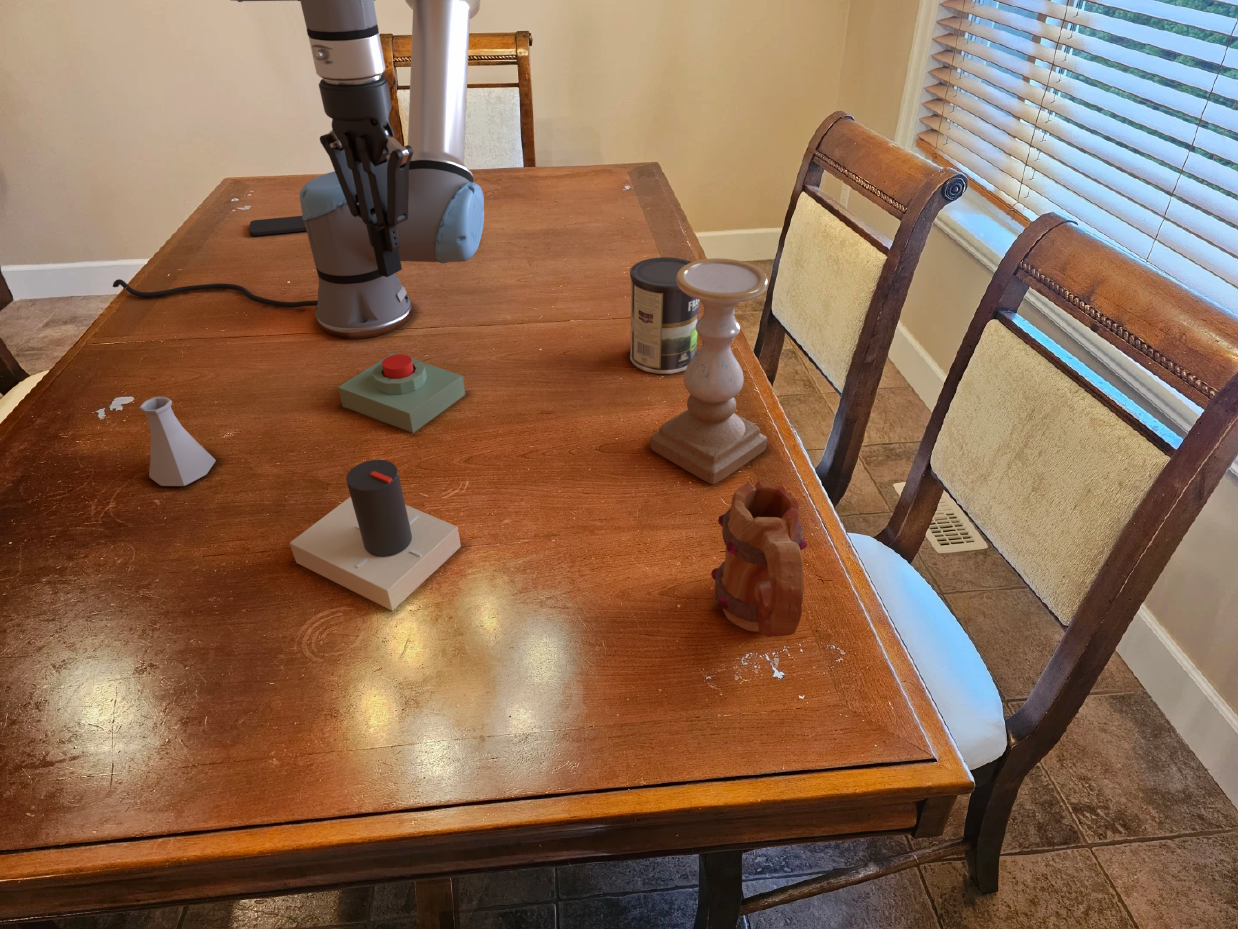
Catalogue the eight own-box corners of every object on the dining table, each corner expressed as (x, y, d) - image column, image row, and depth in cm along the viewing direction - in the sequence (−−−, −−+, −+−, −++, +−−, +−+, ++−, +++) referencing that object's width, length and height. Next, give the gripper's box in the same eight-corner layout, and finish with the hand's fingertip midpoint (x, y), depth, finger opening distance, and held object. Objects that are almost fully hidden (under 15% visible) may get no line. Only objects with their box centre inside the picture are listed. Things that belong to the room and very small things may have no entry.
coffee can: (700, 344, 125) (706, 259, 116) (691, 378, 117) (697, 289, 108) (636, 338, 127) (637, 253, 118) (623, 370, 119) (623, 282, 110)
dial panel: (295, 562, 87) (288, 541, 85) (368, 506, 94) (363, 485, 92) (392, 611, 81) (386, 589, 79) (461, 546, 88) (457, 525, 87)
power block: (342, 406, 111) (334, 375, 108) (396, 371, 119) (391, 341, 116) (413, 433, 106) (407, 401, 103) (465, 394, 113) (461, 364, 110)
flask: (227, 459, 101) (202, 393, 95) (185, 493, 96) (156, 425, 90) (182, 448, 103) (154, 382, 97) (138, 481, 98) (106, 414, 92)
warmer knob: (354, 546, 84) (334, 478, 78) (386, 519, 88) (370, 451, 82) (389, 563, 82) (372, 493, 76) (421, 534, 86) (407, 466, 80)
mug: (703, 577, 85) (714, 466, 75) (779, 573, 85) (798, 461, 76) (730, 692, 73) (746, 577, 64) (817, 686, 74) (845, 570, 64)
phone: (326, 225, 163) (248, 233, 159) (327, 229, 164) (249, 237, 160) (325, 213, 169) (250, 220, 165) (326, 217, 169) (251, 224, 166)
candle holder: (703, 415, 109) (715, 248, 95) (767, 448, 103) (791, 275, 88) (648, 448, 103) (652, 275, 89) (713, 486, 97) (729, 307, 82)
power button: (378, 375, 109) (375, 364, 108) (398, 362, 112) (396, 351, 111) (400, 382, 107) (397, 371, 106) (419, 369, 110) (417, 358, 109)
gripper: (285, 76, 89) (333, 272, 104) (371, 91, 84) (408, 294, 99) (335, 63, 94) (374, 251, 109) (418, 76, 89) (447, 271, 104)
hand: (390, 271), depth 104 cm, fingers closed
